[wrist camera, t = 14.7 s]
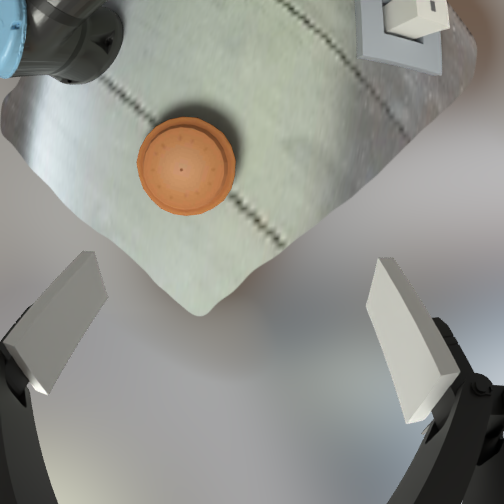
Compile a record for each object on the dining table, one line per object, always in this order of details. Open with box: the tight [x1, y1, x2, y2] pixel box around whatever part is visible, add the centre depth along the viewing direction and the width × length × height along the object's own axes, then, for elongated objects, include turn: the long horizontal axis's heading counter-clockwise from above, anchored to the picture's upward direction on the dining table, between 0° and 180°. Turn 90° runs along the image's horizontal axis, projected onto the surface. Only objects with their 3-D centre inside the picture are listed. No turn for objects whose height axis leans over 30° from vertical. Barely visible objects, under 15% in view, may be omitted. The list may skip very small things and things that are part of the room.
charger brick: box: [382, 0, 450, 40], centre depth 25 cm, size 5×5×12 cm
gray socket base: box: [355, 0, 442, 76], centre depth 29 cm, size 16×14×3 cm
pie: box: [137, 117, 236, 216], centre depth 42 cm, size 15×16×5 cm
